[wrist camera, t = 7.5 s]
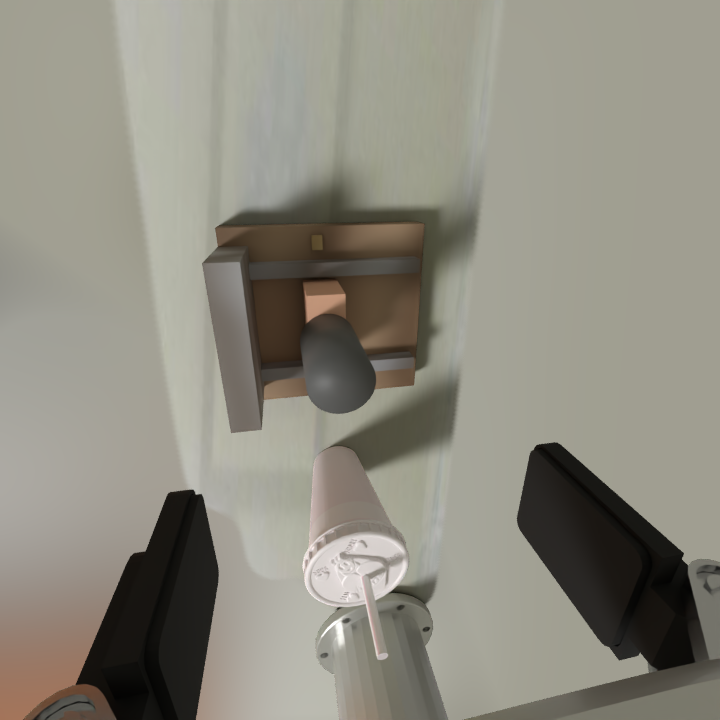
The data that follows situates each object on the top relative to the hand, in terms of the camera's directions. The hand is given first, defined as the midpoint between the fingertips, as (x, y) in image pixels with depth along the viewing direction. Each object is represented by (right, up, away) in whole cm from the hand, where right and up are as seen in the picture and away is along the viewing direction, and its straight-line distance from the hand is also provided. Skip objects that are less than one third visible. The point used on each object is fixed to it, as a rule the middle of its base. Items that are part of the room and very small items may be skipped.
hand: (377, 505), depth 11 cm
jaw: (-3, +7, +13) cm, 15 cm away
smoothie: (-2, -4, +20) cm, 21 cm away
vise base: (-3, +7, +15) cm, 17 cm away
